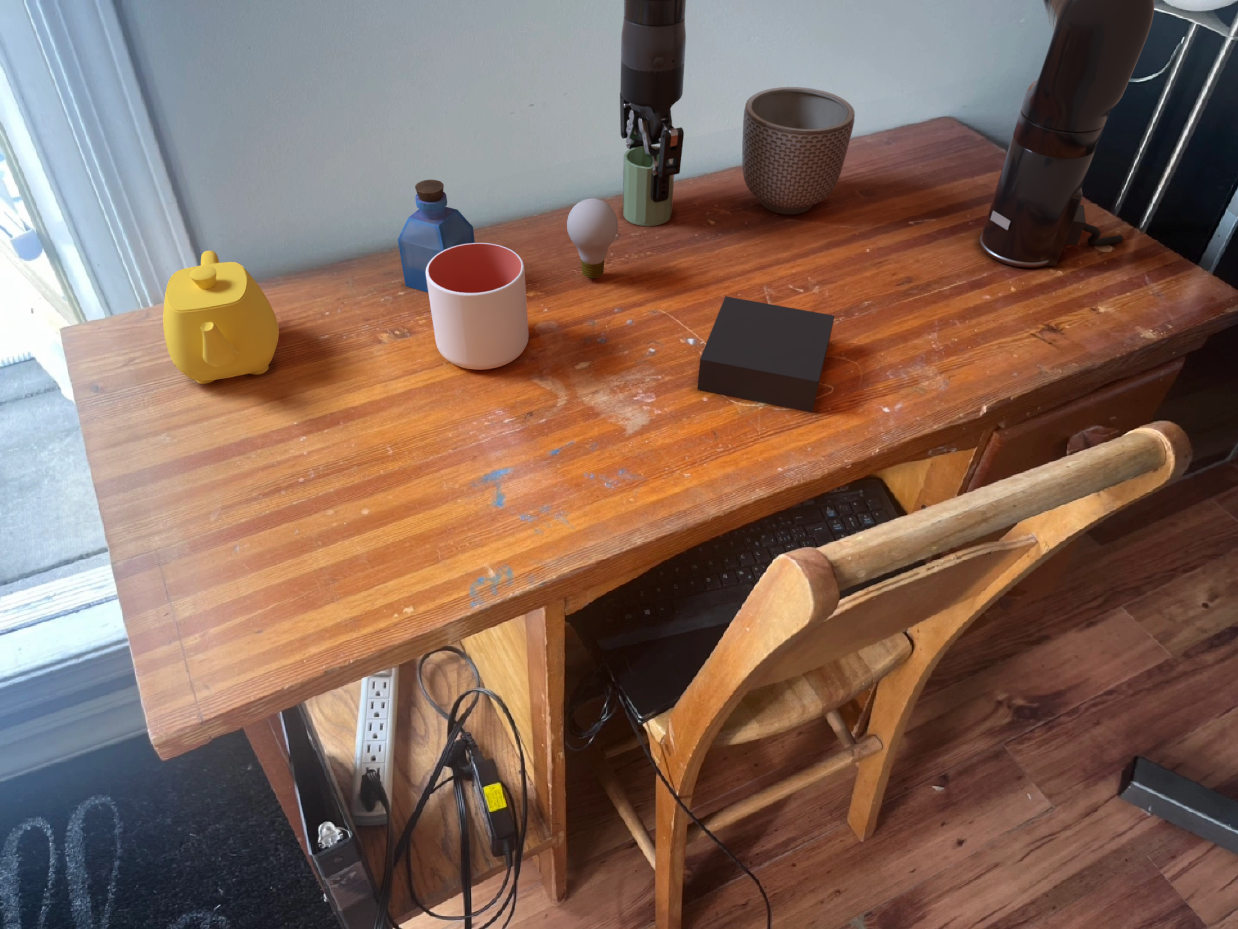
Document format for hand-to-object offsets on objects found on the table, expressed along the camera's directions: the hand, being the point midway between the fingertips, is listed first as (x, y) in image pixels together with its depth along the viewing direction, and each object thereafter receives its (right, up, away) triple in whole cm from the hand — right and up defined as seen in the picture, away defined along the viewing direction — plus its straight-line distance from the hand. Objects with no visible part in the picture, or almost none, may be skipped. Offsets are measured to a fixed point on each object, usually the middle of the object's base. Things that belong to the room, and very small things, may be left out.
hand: (647, 187), depth 122 cm
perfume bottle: (-25, -14, -9) cm, 30 cm away
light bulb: (-7, -14, -9) cm, 18 cm away
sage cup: (0, -3, +3) cm, 4 cm away
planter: (+19, -1, +6) cm, 20 cm away
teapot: (-45, -25, -22) cm, 56 cm away
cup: (-19, -23, -19) cm, 35 cm away
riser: (+12, -26, -21) cm, 35 cm away
